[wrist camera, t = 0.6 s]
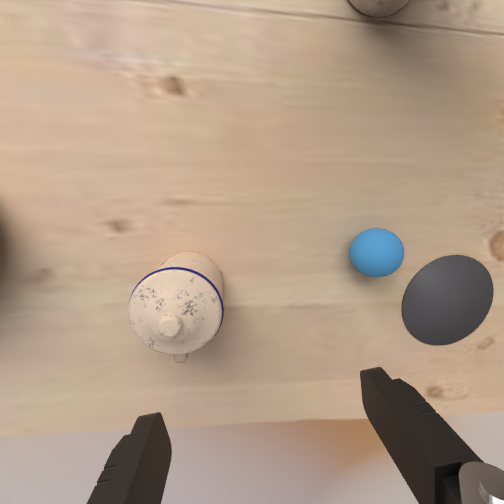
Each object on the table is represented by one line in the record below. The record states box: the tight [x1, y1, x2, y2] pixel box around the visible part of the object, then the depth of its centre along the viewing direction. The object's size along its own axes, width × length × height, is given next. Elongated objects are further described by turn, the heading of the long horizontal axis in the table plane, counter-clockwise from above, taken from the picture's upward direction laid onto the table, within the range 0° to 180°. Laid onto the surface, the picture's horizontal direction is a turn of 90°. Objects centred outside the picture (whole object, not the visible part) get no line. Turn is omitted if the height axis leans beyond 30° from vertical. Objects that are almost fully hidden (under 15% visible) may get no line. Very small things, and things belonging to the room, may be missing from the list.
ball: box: [350, 228, 404, 277], centre depth 31 cm, size 6×6×6 cm
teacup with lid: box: [128, 252, 223, 363], centre depth 27 cm, size 12×9×12 cm
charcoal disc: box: [402, 255, 493, 345], centre depth 36 cm, size 14×14×1 cm
